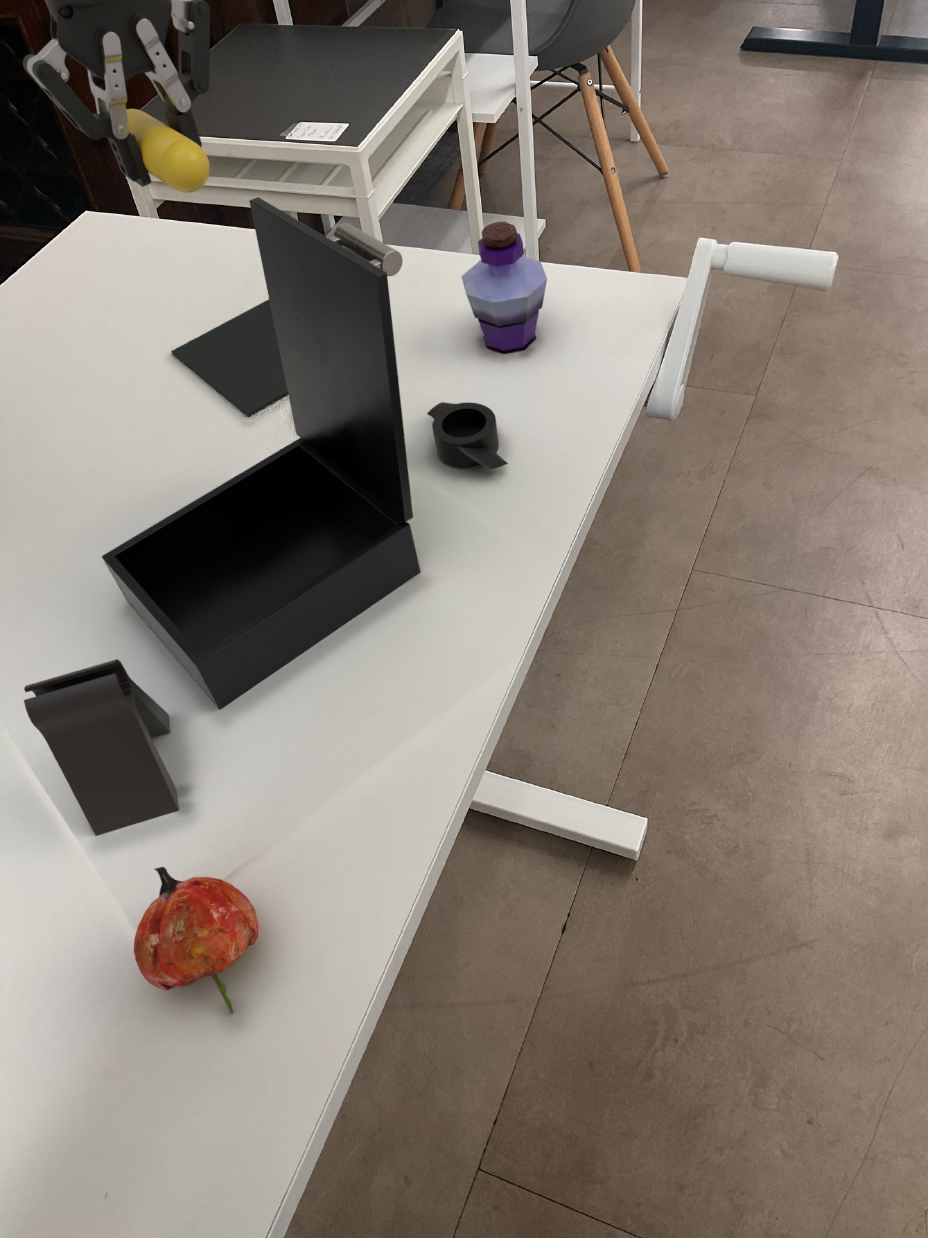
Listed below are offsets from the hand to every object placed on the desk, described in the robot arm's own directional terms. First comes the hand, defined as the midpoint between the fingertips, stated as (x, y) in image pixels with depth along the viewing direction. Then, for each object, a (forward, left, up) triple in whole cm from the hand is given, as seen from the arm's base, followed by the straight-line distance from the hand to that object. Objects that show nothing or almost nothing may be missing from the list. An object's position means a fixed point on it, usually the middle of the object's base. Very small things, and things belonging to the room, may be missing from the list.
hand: (165, 169), depth 76 cm
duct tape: (+13, -15, -27) cm, 34 cm away
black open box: (-10, -17, -27) cm, 34 cm away
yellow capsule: (0, 0, 0) cm, 0 cm away
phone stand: (-27, -25, -27) cm, 46 cm away
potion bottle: (+27, -5, -27) cm, 39 cm away
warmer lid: (+1, -17, -10) cm, 20 cm away
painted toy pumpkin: (-30, -41, -27) cm, 58 cm away
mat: (+9, +13, -27) cm, 32 cm away
